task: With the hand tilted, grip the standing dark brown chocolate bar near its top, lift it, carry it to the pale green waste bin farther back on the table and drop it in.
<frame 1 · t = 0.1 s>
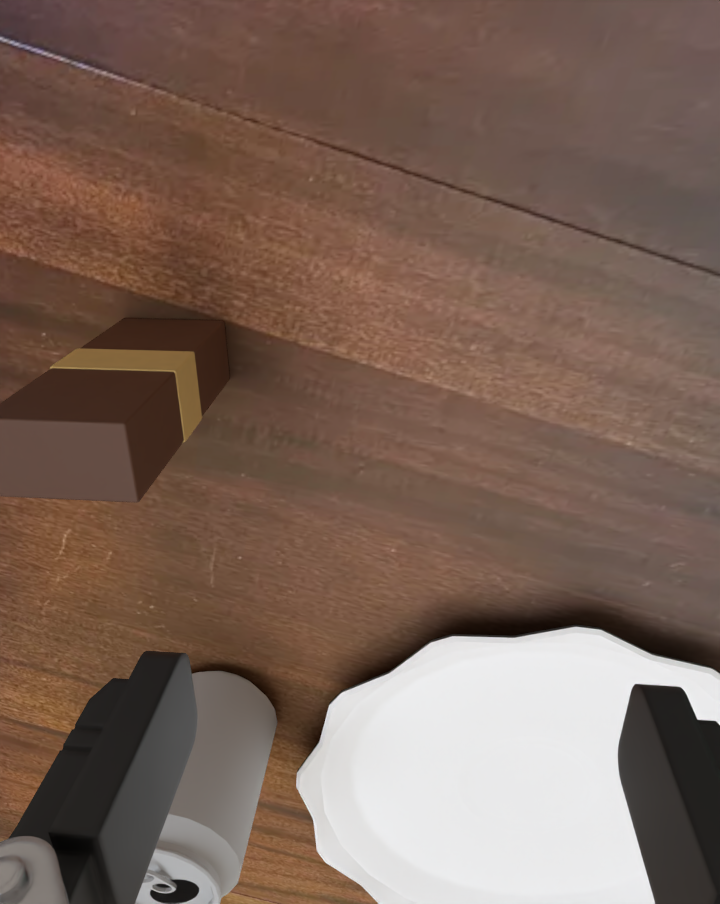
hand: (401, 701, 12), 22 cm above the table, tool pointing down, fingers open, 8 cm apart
can: (223, 702, 44), on the table
plate: (527, 778, 45), on the table
chocolate bar: (177, 348, 33), on the table
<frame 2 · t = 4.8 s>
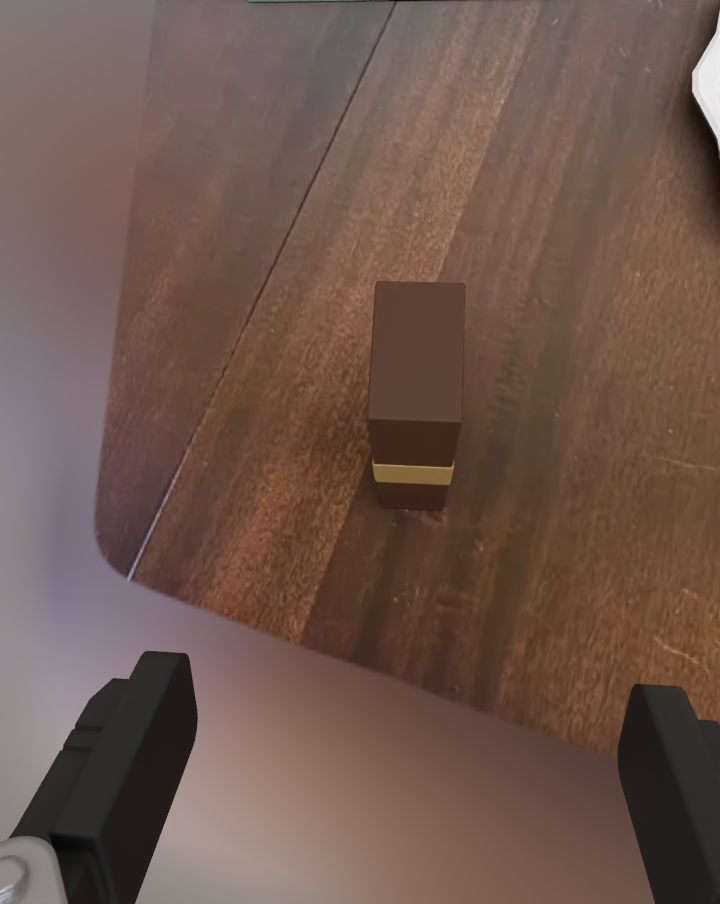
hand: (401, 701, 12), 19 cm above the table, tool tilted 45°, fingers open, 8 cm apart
chocolate bar: (413, 460, 33), on the table
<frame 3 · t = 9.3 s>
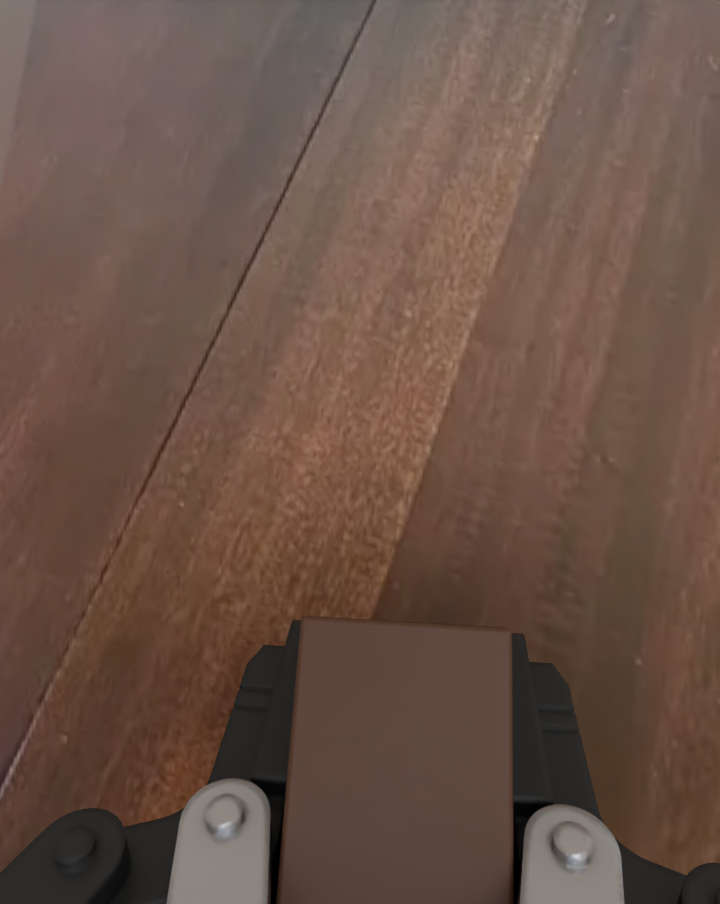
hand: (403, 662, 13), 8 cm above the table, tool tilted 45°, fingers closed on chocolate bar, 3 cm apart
chocolate bar: (403, 742, 20), on the table, touching gripper
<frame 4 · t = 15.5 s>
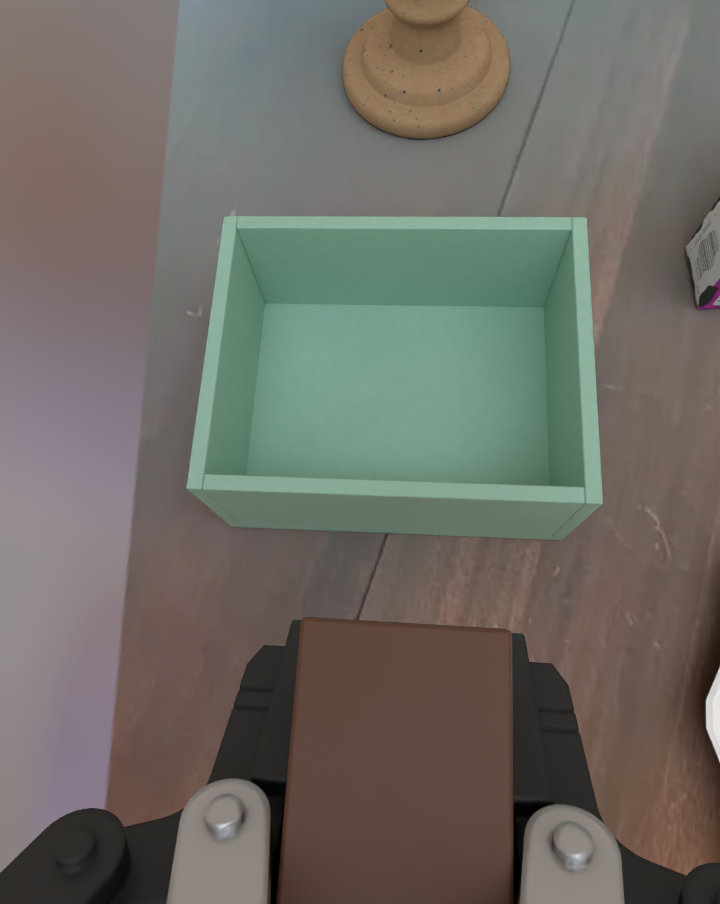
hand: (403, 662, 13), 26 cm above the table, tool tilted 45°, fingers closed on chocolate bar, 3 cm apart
bin: (398, 410, 43), on the table
candle holder: (425, 77, 51), on the table
chocolate bar: (403, 742, 20), point 18 cm above the table, touching gripper
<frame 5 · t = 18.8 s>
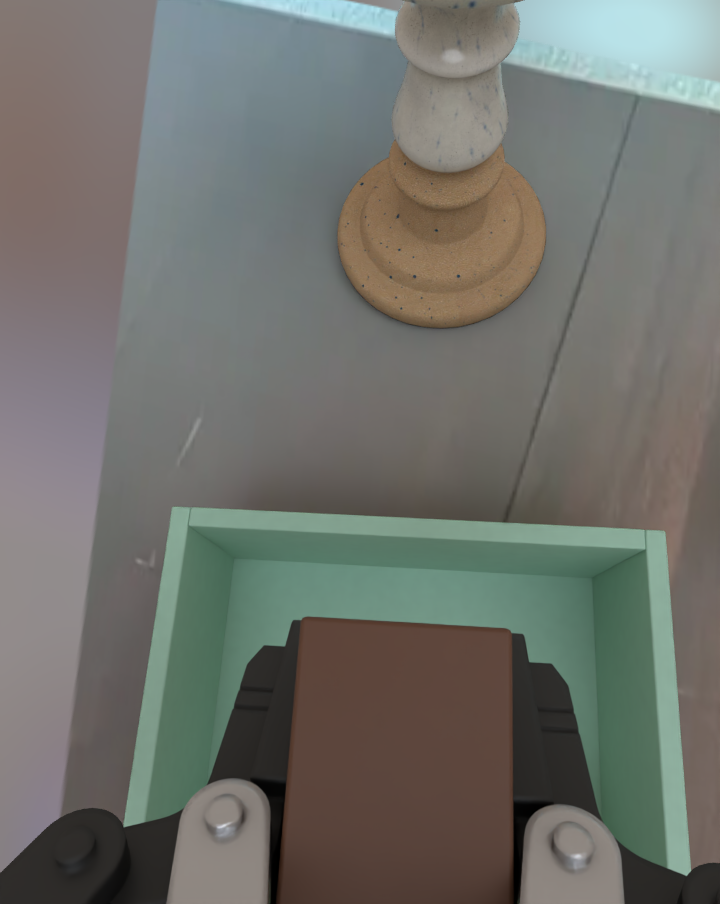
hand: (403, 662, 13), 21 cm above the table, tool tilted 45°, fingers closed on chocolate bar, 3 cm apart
bin: (403, 715, 33), on the table
candle holder: (439, 242, 41), on the table
chocolate bar: (403, 742, 20), point 14 cm above the table, touching gripper
when the fingers open (11 cm above the table, at t = 21.7 s): chocolate bar drops 2 cm, resting on bin.
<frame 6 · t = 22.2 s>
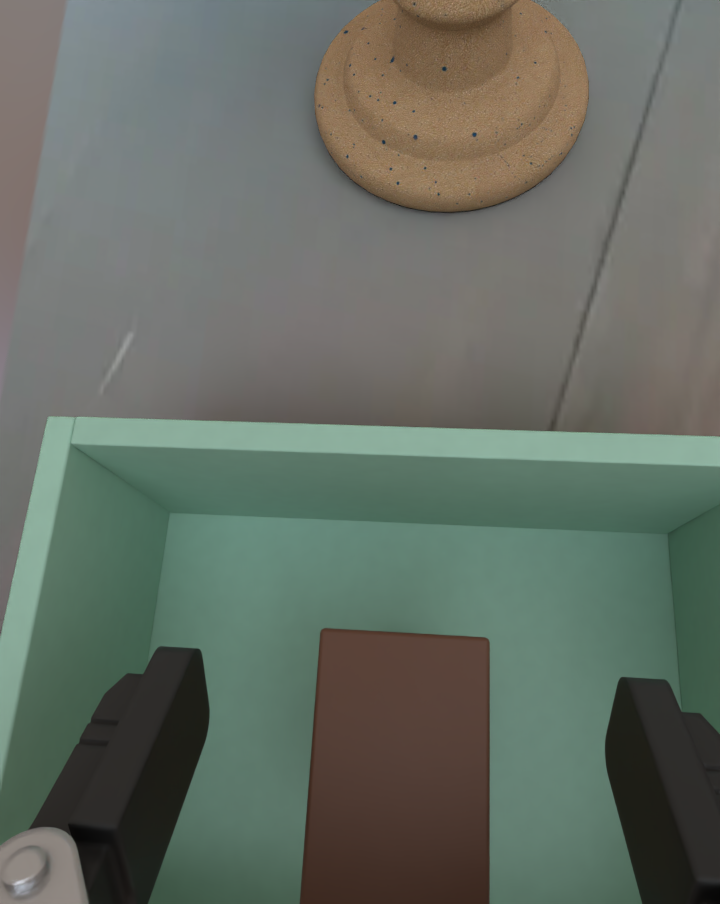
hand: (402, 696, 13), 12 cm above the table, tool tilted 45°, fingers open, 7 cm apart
bin: (403, 728, 23), on the table
candle holder: (448, 108, 32), on the table
chocolate bar: (404, 734, 23), point 1 cm above the table, touching bin
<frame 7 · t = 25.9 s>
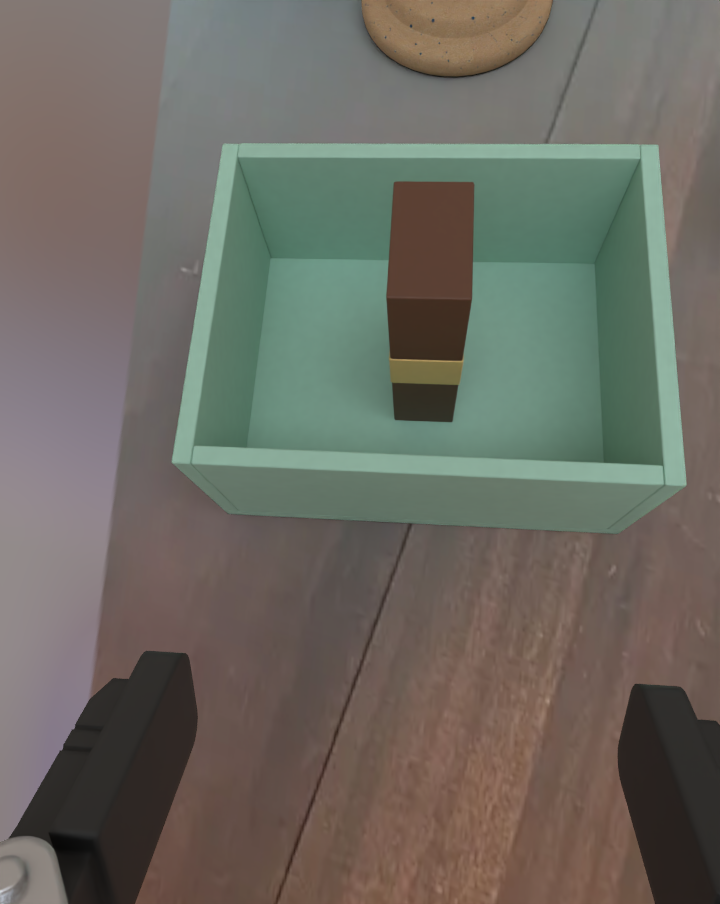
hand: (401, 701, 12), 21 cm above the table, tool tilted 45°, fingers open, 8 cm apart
bin: (424, 381, 37), on the table
candle holder: (455, 10, 45), on the table
chocolate bar: (425, 377, 36), point 1 cm above the table, touching bin
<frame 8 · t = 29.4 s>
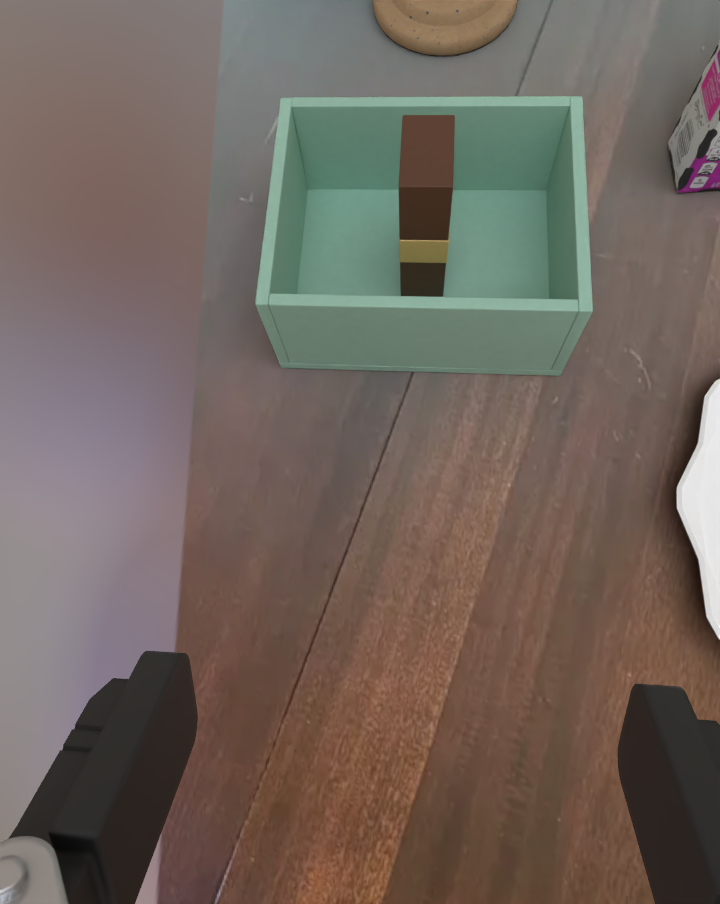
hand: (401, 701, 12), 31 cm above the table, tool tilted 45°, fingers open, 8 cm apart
bin: (422, 275, 50), on the table
candle holder: (444, 5, 59), on the table
chocolate bar: (422, 271, 50), point 1 cm above the table, touching bin
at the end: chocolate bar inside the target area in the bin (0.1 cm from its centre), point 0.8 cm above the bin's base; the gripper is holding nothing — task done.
